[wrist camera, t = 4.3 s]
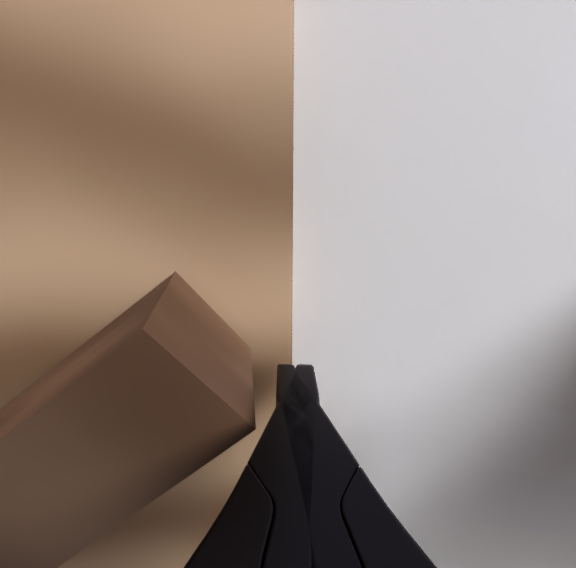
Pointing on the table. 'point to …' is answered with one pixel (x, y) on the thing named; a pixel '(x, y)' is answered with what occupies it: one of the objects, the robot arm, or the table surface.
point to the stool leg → (120, 424)
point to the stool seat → (146, 203)
